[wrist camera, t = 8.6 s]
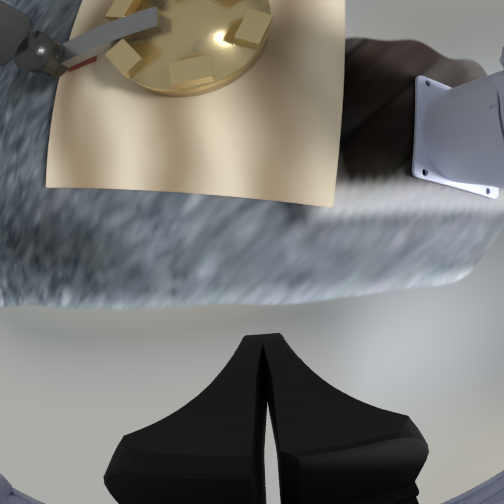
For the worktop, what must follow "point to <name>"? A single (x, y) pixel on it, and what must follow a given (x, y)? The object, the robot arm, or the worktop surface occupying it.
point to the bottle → (11, 31)
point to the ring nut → (163, 44)
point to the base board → (210, 118)
